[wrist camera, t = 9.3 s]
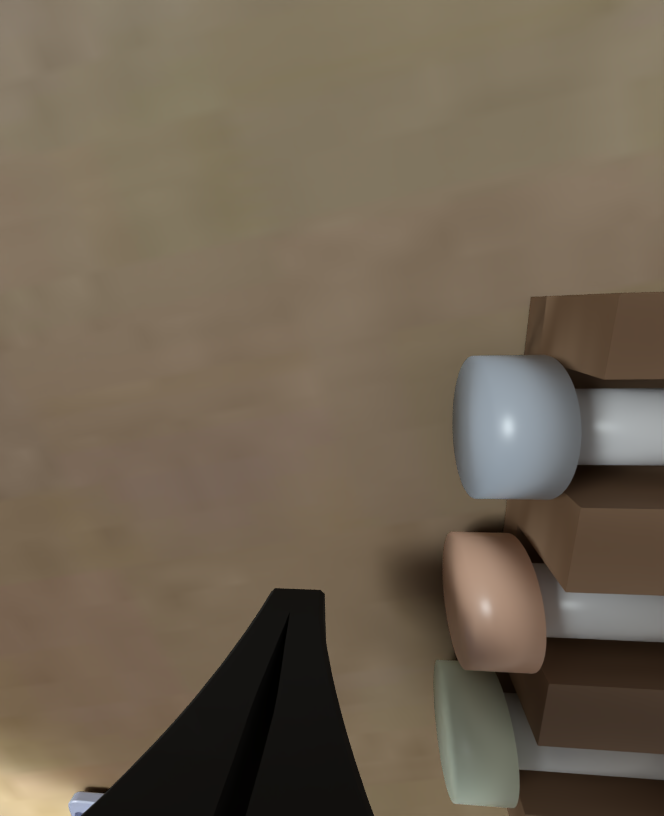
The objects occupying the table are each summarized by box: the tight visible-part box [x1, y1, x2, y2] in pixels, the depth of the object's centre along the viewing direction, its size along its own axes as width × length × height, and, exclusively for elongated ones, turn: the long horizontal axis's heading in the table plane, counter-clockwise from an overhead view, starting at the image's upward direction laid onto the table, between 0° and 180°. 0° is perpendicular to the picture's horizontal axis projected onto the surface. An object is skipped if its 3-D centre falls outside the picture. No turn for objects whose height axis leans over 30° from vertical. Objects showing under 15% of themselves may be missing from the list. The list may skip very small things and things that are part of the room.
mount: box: [495, 292, 664, 816], centre depth 10 cm, size 16×6×4 cm, turn 2°
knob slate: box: [453, 355, 664, 500], centre depth 9 cm, size 7×3×3 cm, turn 92°
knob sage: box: [434, 660, 664, 808], centre depth 11 cm, size 7×3×3 cm, turn 92°
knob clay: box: [443, 532, 664, 674], centre depth 10 cm, size 7×3×3 cm, turn 92°
